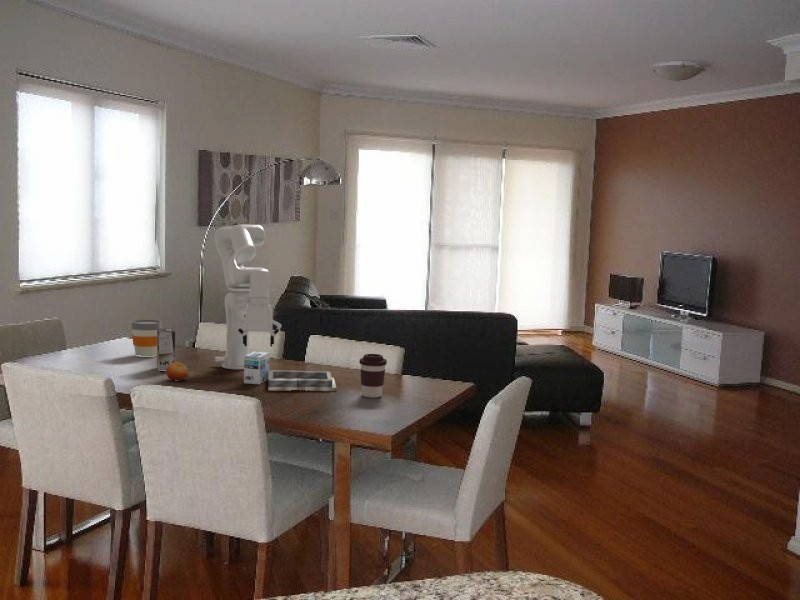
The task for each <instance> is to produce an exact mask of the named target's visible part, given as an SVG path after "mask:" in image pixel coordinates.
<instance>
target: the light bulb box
mask: <svg viewBox="0 0 800 600" xmlns="http://www.w3.org/2000/svg"><path fill="white" fill-rule="evenodd" d="M270 360H271V359H270V352H268V351H267V352H264V351H255V350H253V351H252V352H249V354H247V355H245V356H244V369H243V371H244V372H243V374H244V375H243V384H251V385H262V384H263V383H265V382H267V381H269V380H268V379H269V370H270ZM261 383H262V384H261Z"/></svg>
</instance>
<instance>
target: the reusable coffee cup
mask: <svg viewBox="0 0 800 600" xmlns="http://www.w3.org/2000/svg"><path fill="white" fill-rule="evenodd" d="M157 329H163V326H162V321H161V320H156V319H138V320H132V321H131V330H132V334H131V338H132V344H133V346H134V353H135V356H136V355H141V356H153V355H157Z"/></svg>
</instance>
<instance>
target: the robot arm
mask: <svg viewBox="0 0 800 600" xmlns="http://www.w3.org/2000/svg"><path fill="white" fill-rule="evenodd" d="M266 235H267V234H266V231H265V229H264V228H263V226H262V225H259V224H245V223H244V224H242V223H241V224H235V225H233V226H223V227H222V226H221V227H220V228H218V229H216V231H215V235H214V243H215V247H216V251H217V253H218V255H219V257H220V260H221V263H222V269H223V276H224V281H225V286H226V288H227V289H228V290H229V291H230V292H228V293H227V294H226V295H225V297H224V306H225V307H224V308H225V315H226V317H225V318H226V332H225V335H226V336H225V337H226V341H225V351H226V352H225V355H223V356H214V361H215V362H218V363H222V364H221V367H222V368H224V369H227V370H228V369H229V370H244V356H245V355H247V354H250V348H251V347H250V346H251V345H250V342H251V341H250V340H251V338H250V336H251V332H255V333H256V332H260V333H261V332H264V333H265V332H268V333H269V334H270V338H269V342H270V344H269V346H270V347H273V345H275V336H276V335H277V334H278V333H279V332H280V330H281V328H282V326H283V325H282V324H281V323H280V322H278V321H276V320H274V319H273V311H272V310H273V308H272V305H271V304H270V281H271V280H270V277H271V276H270V273H271V272H270V271H269V270H268V269H267V268H265V267H259V266H257V267H255V266H254V267H253V266H244V264H246V263H248V262H250V261H251V260H253V259H254V258H255V257H256V255H257V247H260V246H263V245H264V243H265V242H266ZM244 315H245V316H244ZM273 325H275V326H276V329H275V330H273Z"/></svg>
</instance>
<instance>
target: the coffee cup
mask: <svg viewBox="0 0 800 600" xmlns="http://www.w3.org/2000/svg"><path fill="white" fill-rule="evenodd" d="M387 364H388V360H387V358H384V356H383V355H382V354H378V353H367V354H364V355H363V357H361V358H359V365H360V385H361V396H362V397H365V398H370V399H371V398H372V399H373V398H380V397H382V394H383V387H384V383H385V373H386V369H385V368H386V367H385V366H387Z"/></svg>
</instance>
